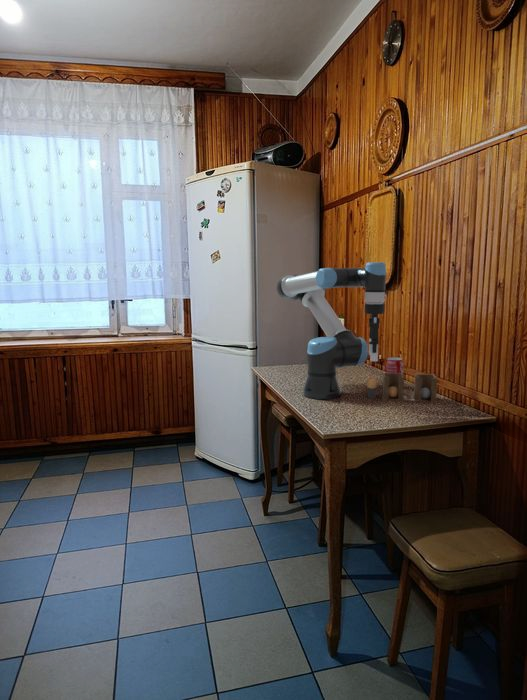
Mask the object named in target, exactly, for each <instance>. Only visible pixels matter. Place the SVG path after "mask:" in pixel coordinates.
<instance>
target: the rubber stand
mask: <svg viewBox="0 0 527 700" xmlns="http://www.w3.org/2000/svg"><path fill="white" fill-rule="evenodd" d="M376 397H377V387H376V388H375V389H369V388H368V387H367V398H369V399H370V398H371V399H376Z"/></svg>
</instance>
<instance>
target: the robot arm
mask: <svg viewBox="0 0 527 700" xmlns="http://www.w3.org/2000/svg"><path fill="white" fill-rule="evenodd" d="M386 279H387V264H386V263H385V262H384V261H383V262H381V261H380V262H378V261H375V262H374V261H373V262H372V261H370V262H366V264H365V267H323V268H319V269H318V270H317V271H313V272H312V271H311V272H308V273H304V274H288V275H283V276H281V277H280V278H279V279H278V281H277V282H276V292H277V294H278V295H279V296H280V297H281V298H282V299H284V300H287V301H298V300H299V301H300V302H301V304H302V306H304V307H306V308H308V309H309V311H310V312H311V314H312V315H313V316H314V318H315V320H316V321H317V323H318V325H319V326H320V328H321V330H322V331H323V332H324V334H325V336H320V337H315V338H313V339H310V340H309V342H308V344H307V350H306V351H307V376H306V379H305V383H304V386H303V388H302V395H303V396H304V397H307V398H309V399H315V400H316V399H317V400H331V399H336V398H339V397H340V396H341V388H340V385H339V381H338V379H337V369H339V368H346V367H347V368H348V367H356V366H361V365H362V364H364V363H365V362H366V360H367V358H368V356H369V359H370V360H369V362H378V360H379V358H378V357H379V356H378V355H379V342H380V341H379V329H380V321H381V320H380V319H381V318H379V315H382V314H383V315H384V313H385V307H386V306H385V302H386V298H387V296H388V295H387V294H386V283H387V280H386ZM335 288H337V289H339V288H364V303H365V304H364V314H366V315H369V318H368V327H369V334H368V335H369V337H368V343H367V341H366V340H365V339H364V338H362V337H360V336H359V337H356V335H355V334H354V332H353V331H352V330H350V329H346V327H345V326H344V324H343V323H342V321H341V320H340V318H339V317H338V315H337V314H336V312H335V311H334V309H333V308H332V306H331V305H330V303H329V302H328V300H327V298H326V297H325V294H326V290H327V289H335Z"/></svg>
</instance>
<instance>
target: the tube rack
mask: <svg viewBox="0 0 527 700" xmlns="http://www.w3.org/2000/svg"><path fill="white" fill-rule="evenodd" d="M382 375H383V377H382V378H383V379H382V394H381V398H382V400H383V401H404V402H405V401H406V402H407V401H408V402H426V403H428V402H431V403H432V402H433V403H437V402H438V401H437V395H438V394H437V392H438V391H437V390H438V389H437V388H438V377H437V376H436V375H435V374H433V373H432V374H431V373H414V384H413V385H414V387H413V395H404V388H405V387H404V385H405V384H404V383H405V377H404V373H403V374H402V373H386V372H383V374H382ZM392 386H393V387H396V388H397V389H398V396H397V397H395V398H391V397H389V387H392ZM422 388H428V389H429V390H430V391H431V396H430V397H429V398H428V399H423V398H421V394H422Z"/></svg>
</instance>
